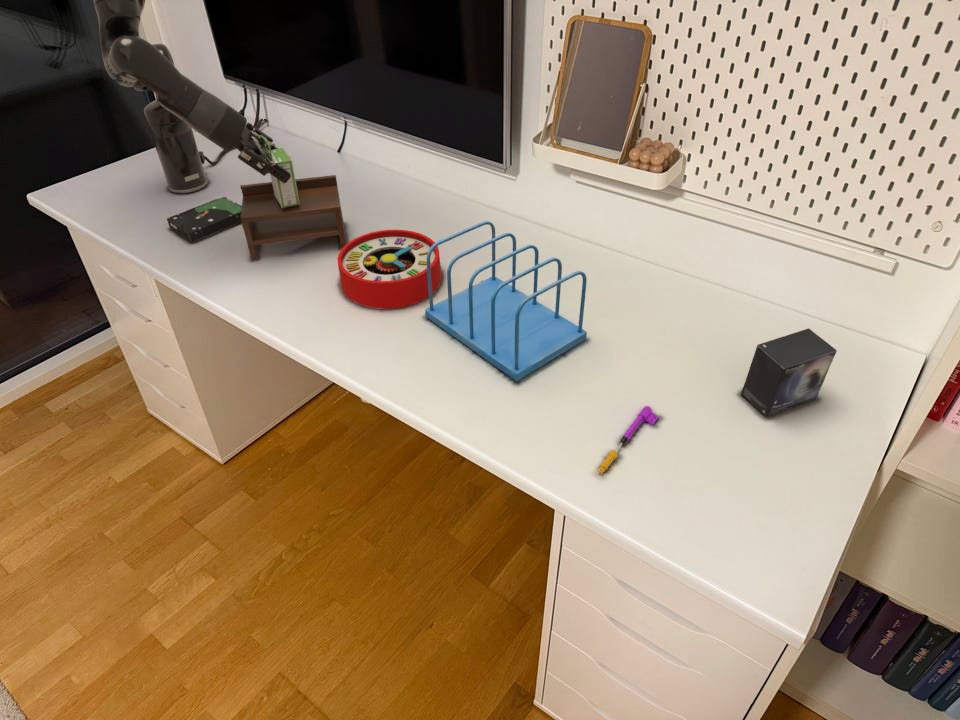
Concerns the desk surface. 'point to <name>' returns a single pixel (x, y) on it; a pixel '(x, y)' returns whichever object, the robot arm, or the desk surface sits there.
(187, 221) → the disk drive
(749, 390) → the small box
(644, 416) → the purple orange tool
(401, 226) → the desk surface
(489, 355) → the file sorter
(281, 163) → the ink box
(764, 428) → the desk surface
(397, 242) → the toy clock
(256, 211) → the desk shelf
